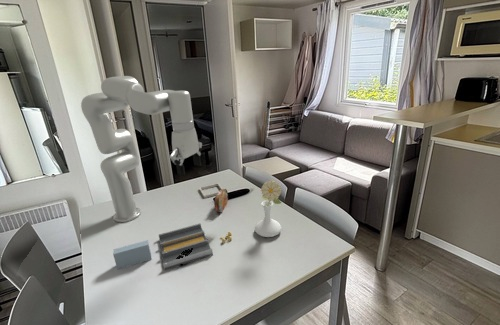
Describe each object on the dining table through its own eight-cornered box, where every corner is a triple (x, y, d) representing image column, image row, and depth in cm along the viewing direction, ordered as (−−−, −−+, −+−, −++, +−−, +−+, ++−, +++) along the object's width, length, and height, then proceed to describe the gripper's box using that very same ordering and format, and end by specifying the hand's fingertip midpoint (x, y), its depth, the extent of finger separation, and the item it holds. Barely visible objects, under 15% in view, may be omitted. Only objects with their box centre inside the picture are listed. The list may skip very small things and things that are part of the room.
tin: (220, 215, 129) (218, 200, 126) (214, 215, 129) (212, 199, 126) (229, 200, 142) (227, 186, 139) (223, 200, 143) (221, 185, 140)
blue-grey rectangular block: (118, 264, 100) (113, 249, 98) (151, 254, 105) (147, 240, 102) (117, 269, 98) (113, 254, 95) (151, 259, 102) (148, 244, 100)
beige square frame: (199, 189, 156) (199, 187, 156) (218, 185, 160) (218, 183, 160) (204, 198, 146) (203, 195, 145) (224, 193, 150) (224, 190, 149)
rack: (159, 239, 113) (158, 234, 112) (201, 227, 120) (200, 223, 119) (164, 270, 96) (163, 264, 95) (212, 255, 102) (212, 249, 101)
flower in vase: (249, 232, 114) (245, 180, 105) (266, 221, 122) (264, 170, 113) (273, 245, 106) (271, 188, 97) (289, 231, 113) (289, 178, 105)
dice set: (231, 235, 114) (230, 231, 114) (234, 242, 110) (233, 238, 109) (219, 237, 113) (219, 234, 112) (222, 245, 109) (221, 241, 108)
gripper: (190, 120, 105) (195, 161, 111) (158, 131, 91) (166, 177, 97) (205, 121, 102) (210, 163, 108) (175, 132, 87) (182, 180, 93)
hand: (189, 169), depth 102 cm, fingers open, 9 cm apart
